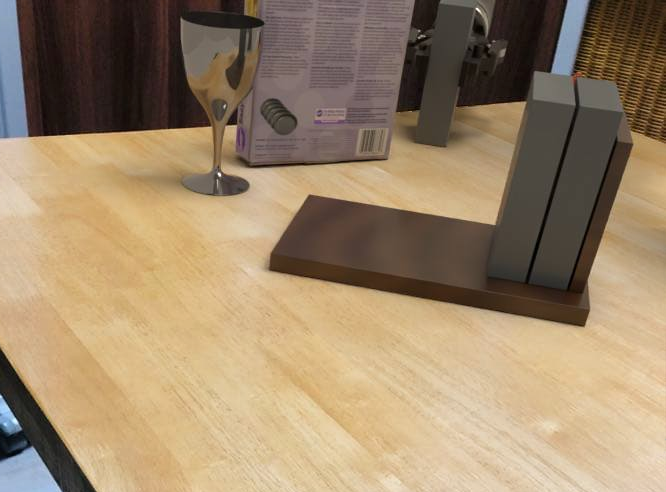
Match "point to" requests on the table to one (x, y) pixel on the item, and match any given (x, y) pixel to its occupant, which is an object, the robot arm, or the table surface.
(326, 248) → the book rack
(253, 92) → the cake pan box
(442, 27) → the grey book
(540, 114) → the matching books
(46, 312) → the table surface
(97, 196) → the table surface
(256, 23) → the wine glass
